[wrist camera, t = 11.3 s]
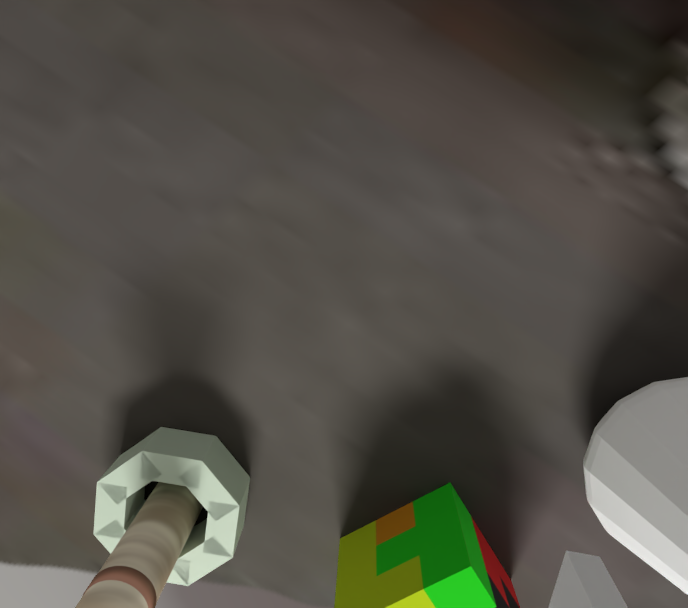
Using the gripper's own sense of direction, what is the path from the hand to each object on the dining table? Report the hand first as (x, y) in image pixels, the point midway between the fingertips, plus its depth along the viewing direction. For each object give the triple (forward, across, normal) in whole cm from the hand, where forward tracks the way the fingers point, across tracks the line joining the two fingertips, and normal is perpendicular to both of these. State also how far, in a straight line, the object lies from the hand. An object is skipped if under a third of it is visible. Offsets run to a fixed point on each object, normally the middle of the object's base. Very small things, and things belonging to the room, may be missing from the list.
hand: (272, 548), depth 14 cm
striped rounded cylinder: (+30, -10, -20) cm, 37 cm away
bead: (+30, -10, -19) cm, 37 cm away
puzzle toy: (+30, +11, -22) cm, 39 cm away
